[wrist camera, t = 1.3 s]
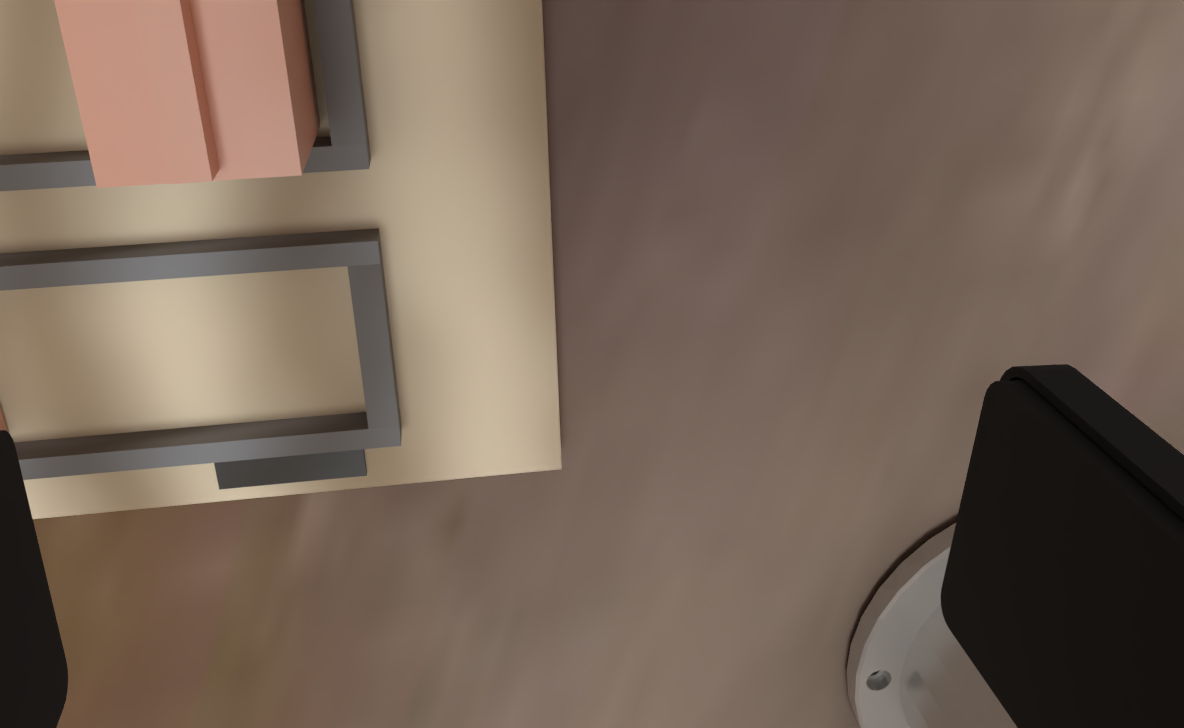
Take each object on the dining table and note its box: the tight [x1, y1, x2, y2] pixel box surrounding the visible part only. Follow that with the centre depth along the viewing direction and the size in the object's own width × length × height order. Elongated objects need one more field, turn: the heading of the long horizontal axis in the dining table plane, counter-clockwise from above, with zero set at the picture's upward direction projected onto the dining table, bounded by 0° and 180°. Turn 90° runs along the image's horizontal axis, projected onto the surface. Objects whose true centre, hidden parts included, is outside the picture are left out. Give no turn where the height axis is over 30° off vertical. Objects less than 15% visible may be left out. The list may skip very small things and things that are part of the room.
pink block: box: [54, 0, 320, 188], centre depth 22 cm, size 4×4×5 cm
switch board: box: [0, 0, 562, 519], centre depth 26 cm, size 24×17×2 cm
